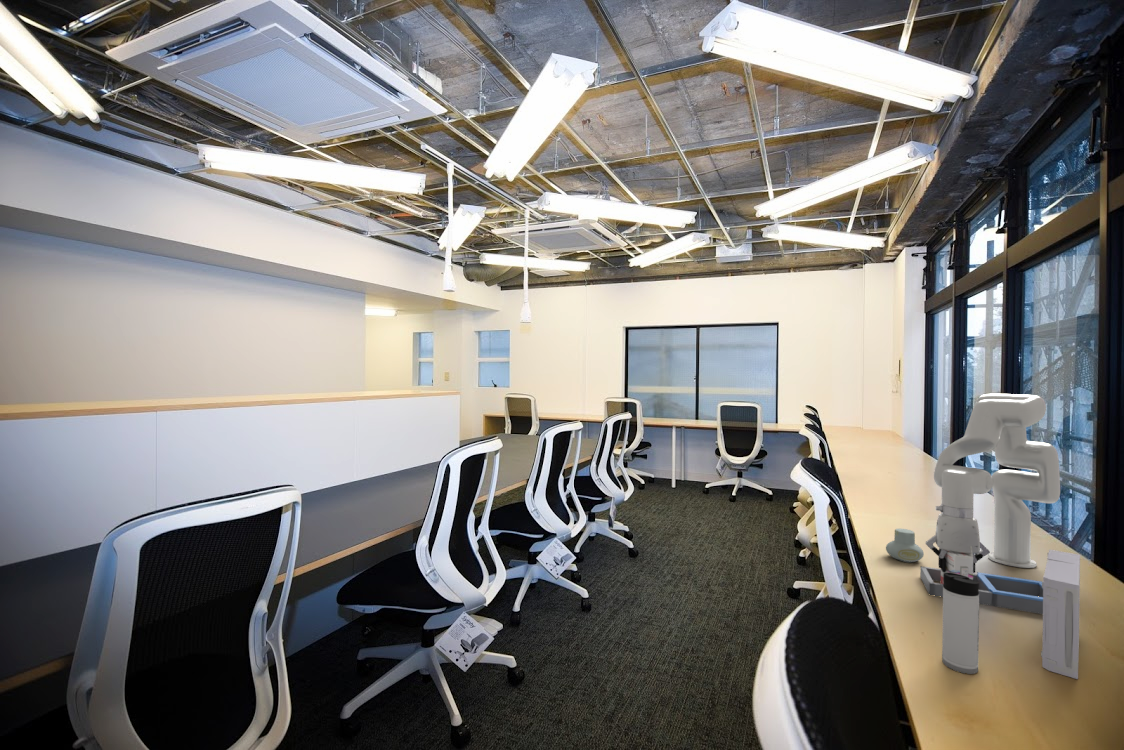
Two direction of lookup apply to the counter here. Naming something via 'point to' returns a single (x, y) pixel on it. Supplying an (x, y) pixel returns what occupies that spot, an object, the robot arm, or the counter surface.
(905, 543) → the air freshener
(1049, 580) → the game console
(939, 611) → the counter surface
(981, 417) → the robot arm
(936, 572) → the organiser
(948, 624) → the travel mug
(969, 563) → the ink cartridge box
